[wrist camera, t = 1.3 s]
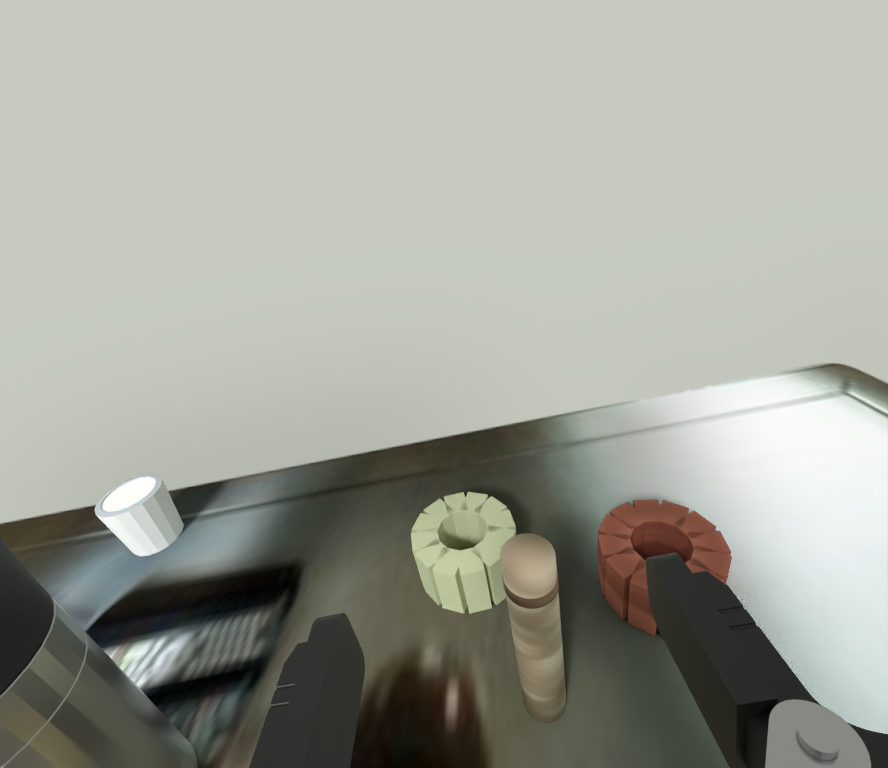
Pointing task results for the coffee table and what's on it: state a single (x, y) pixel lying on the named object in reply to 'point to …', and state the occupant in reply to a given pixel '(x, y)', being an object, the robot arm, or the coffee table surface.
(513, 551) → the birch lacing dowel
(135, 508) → the shot glass
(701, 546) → the red bead
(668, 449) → the coffee table surface
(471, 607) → the pale green bead
